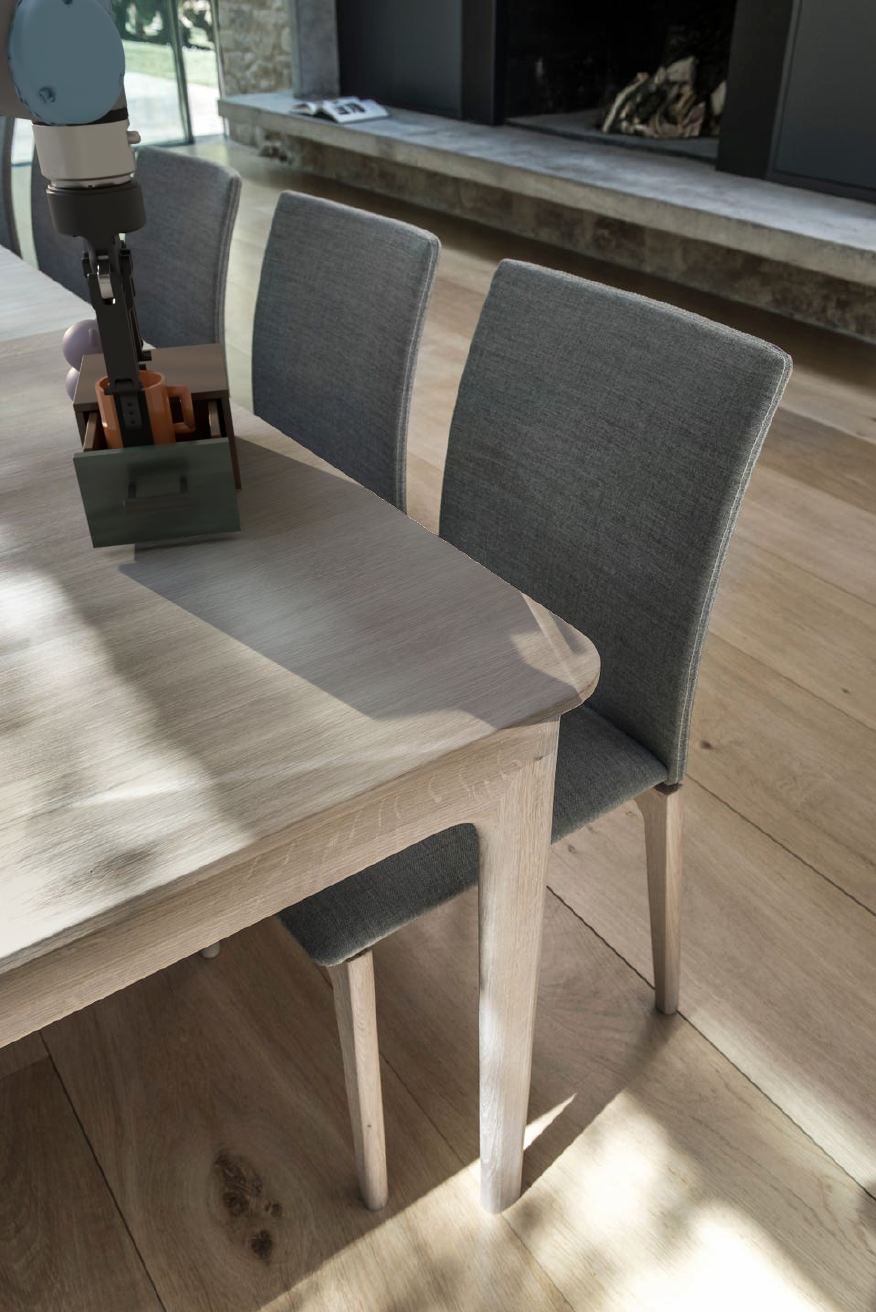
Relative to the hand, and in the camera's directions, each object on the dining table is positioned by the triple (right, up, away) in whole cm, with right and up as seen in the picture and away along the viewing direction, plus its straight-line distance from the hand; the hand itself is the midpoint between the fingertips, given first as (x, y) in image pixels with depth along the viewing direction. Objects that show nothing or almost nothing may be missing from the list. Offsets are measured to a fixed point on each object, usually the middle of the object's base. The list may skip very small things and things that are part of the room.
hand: (142, 445), depth 98 cm
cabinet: (-1, 0, +14) cm, 14 cm away
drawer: (+2, -6, +2) cm, 7 cm away
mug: (0, 0, 0) cm, 0 cm away
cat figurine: (-11, +8, +26) cm, 30 cm away
